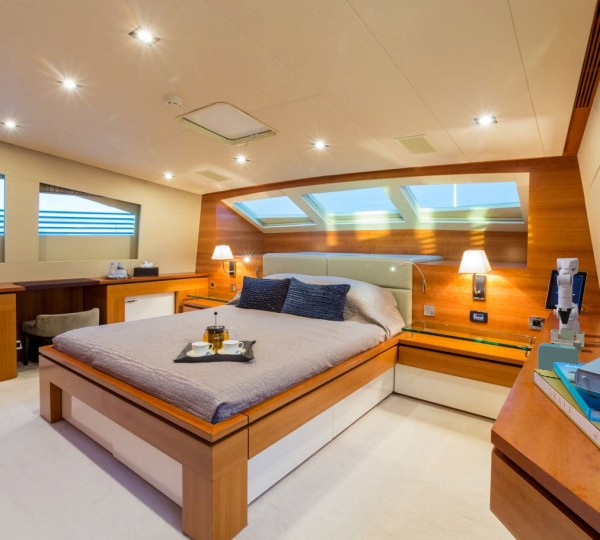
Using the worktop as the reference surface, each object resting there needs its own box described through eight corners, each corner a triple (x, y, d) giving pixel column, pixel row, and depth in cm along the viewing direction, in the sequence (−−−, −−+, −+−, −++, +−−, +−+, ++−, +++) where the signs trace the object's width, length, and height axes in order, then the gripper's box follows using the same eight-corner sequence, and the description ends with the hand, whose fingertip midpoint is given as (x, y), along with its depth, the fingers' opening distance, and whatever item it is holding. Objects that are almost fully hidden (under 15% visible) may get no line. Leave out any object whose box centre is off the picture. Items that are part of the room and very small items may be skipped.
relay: (573, 348, 173) (573, 340, 172) (581, 349, 171) (581, 340, 171) (573, 351, 169) (573, 342, 169) (581, 352, 167) (581, 342, 167)
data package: (578, 379, 131) (578, 346, 131) (577, 382, 128) (577, 349, 127) (539, 372, 139) (539, 342, 139) (537, 375, 136) (537, 344, 135)
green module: (561, 340, 187) (560, 327, 187) (574, 341, 183) (574, 328, 183) (560, 341, 183) (560, 328, 183) (573, 343, 180) (573, 329, 180)
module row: (552, 339, 191) (552, 328, 191) (584, 343, 183) (584, 331, 183) (550, 343, 184) (550, 331, 184) (583, 347, 175) (583, 334, 175)
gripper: (556, 295, 194) (556, 320, 195) (554, 298, 183) (554, 324, 183) (572, 296, 190) (572, 321, 190) (571, 299, 178) (571, 325, 179)
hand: (565, 322), depth 186 cm, fingers open, 7 cm apart
